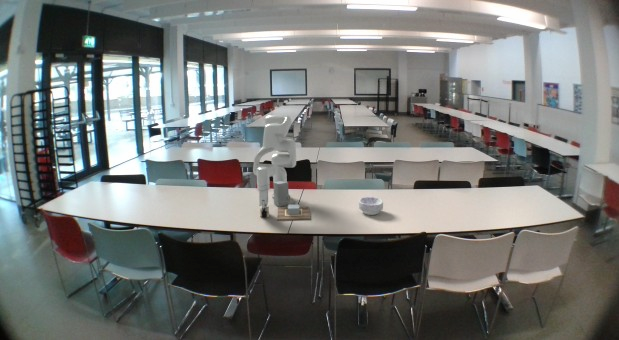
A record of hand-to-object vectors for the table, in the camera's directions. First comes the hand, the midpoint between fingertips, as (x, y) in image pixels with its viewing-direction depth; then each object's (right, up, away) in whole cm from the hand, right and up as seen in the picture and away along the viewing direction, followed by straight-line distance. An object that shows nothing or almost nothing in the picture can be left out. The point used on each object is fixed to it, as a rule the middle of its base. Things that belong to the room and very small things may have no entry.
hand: (264, 214), depth 218 cm
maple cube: (0, -1, 0) cm, 1 cm away
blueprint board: (+18, 0, +2) cm, 18 cm away
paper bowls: (+67, 0, +4) cm, 67 cm away
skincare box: (+9, +4, +19) cm, 21 cm away
